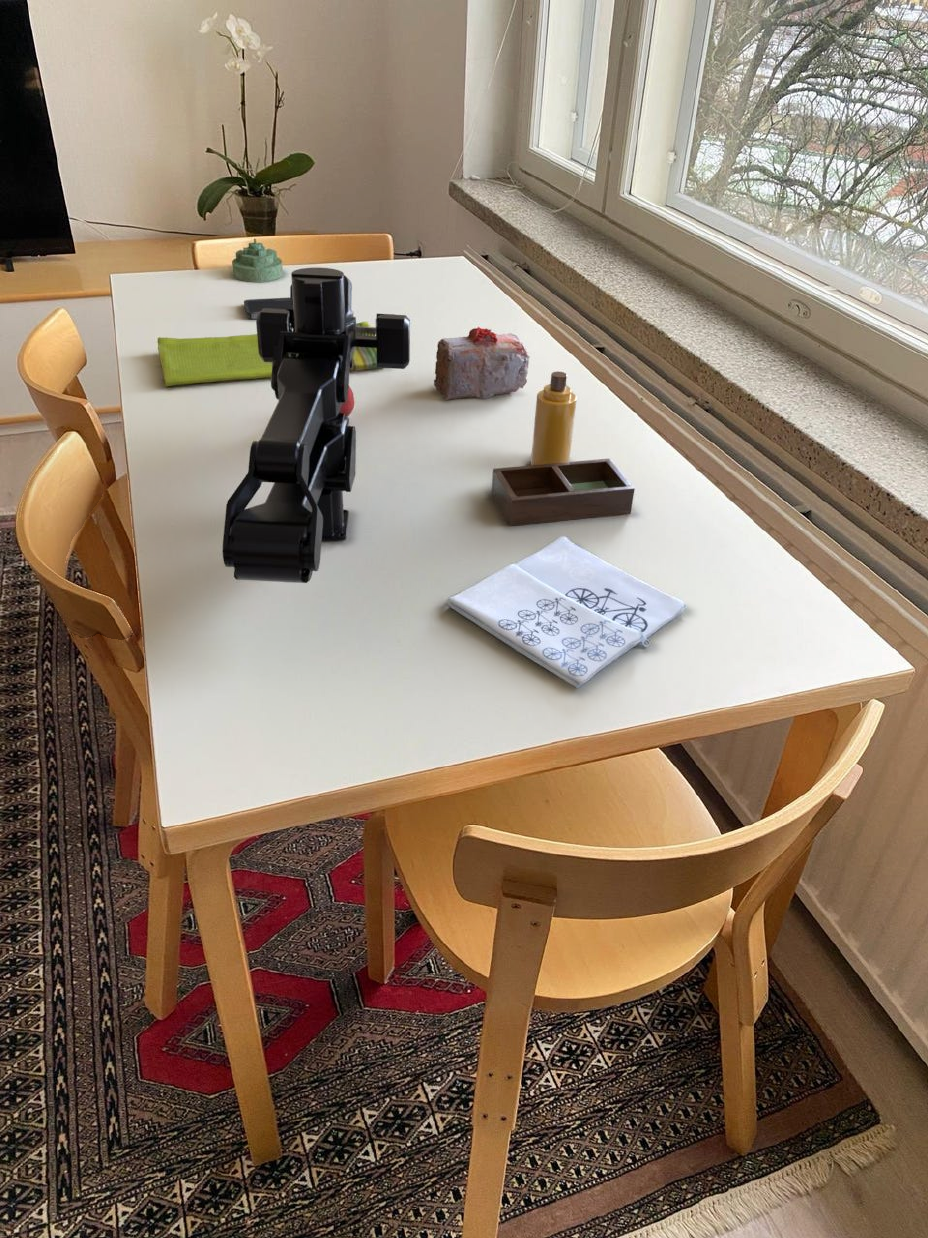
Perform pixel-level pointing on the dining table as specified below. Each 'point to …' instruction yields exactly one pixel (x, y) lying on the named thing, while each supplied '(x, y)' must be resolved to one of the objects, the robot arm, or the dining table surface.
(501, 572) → the folded bicycle print cloth
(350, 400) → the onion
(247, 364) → the dish towel
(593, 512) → the brown divided tray
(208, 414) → the dining table surface
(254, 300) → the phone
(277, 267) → the decorative artifact
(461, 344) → the red crystal topped stone
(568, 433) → the bottle
